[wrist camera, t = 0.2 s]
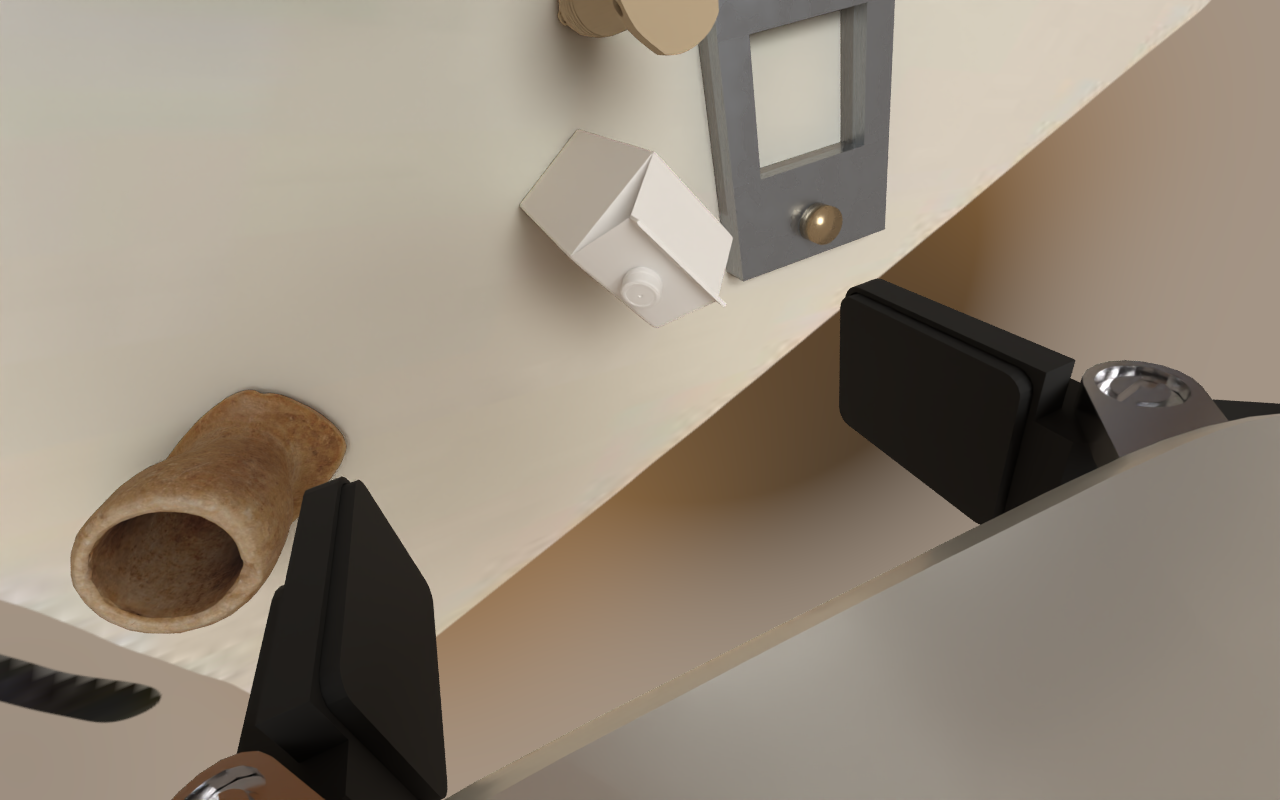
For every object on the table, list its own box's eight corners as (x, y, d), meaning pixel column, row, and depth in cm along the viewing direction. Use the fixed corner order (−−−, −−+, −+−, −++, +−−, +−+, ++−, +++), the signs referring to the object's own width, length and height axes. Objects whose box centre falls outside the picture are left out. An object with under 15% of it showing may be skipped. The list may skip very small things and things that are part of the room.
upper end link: (693, 4, 40) (724, -4, 36) (868, -41, 43) (913, -52, 39) (726, 271, 51) (752, 286, 48) (862, 222, 54) (897, 233, 51)
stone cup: (217, 347, 39) (140, 468, 27) (368, 431, 46) (360, 557, 34) (87, 495, 41) (-41, 672, 29) (252, 555, 48) (206, 718, 36)
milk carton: (577, 127, 41) (687, 159, 26) (642, 193, 45) (770, 255, 30) (517, 205, 42) (589, 280, 27) (586, 262, 46) (683, 356, 31)
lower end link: (681, -96, 37) (702, -109, 34) (870, -137, 40) (902, -151, 37) (719, 212, 48) (737, 219, 46) (863, 163, 51) (888, 167, 49)
